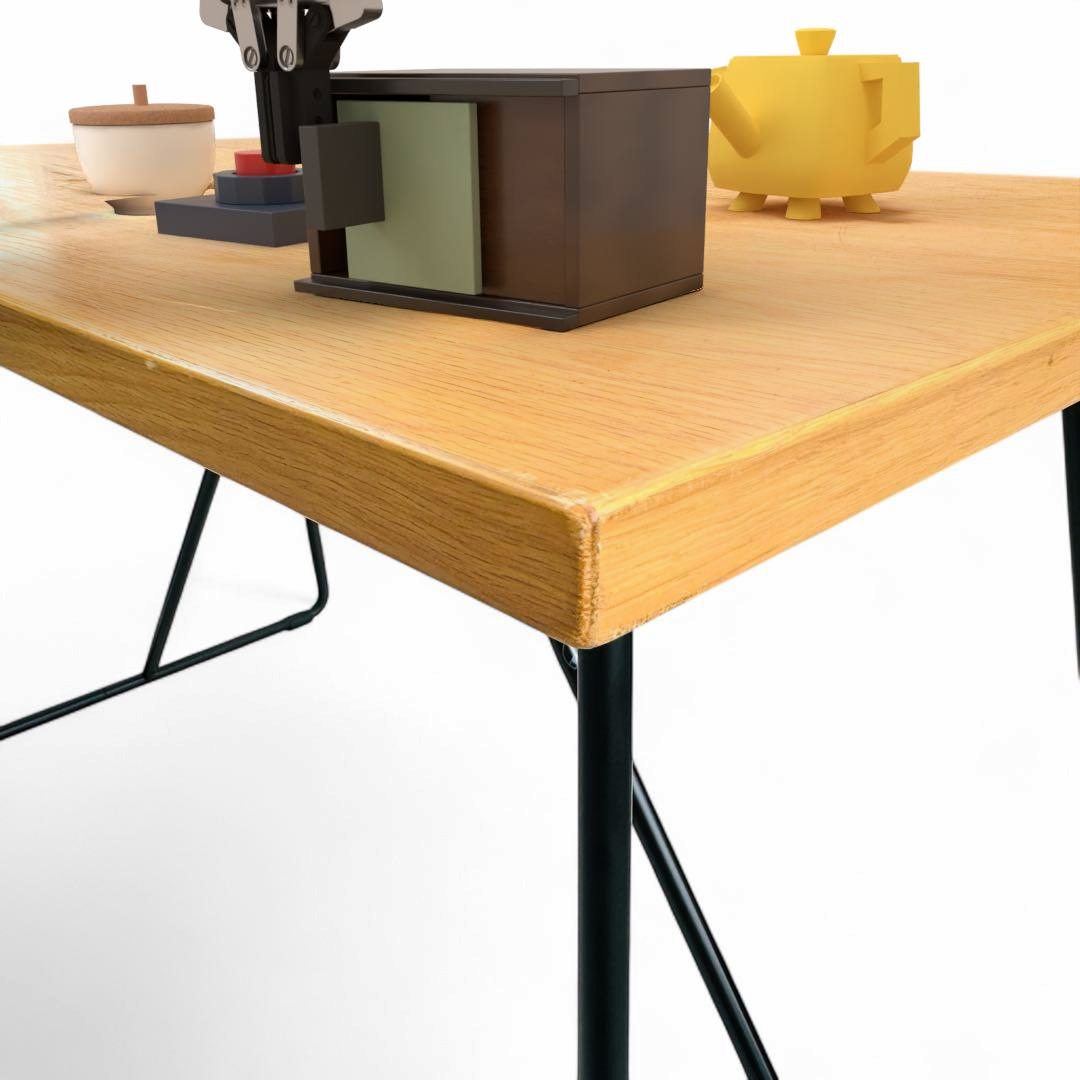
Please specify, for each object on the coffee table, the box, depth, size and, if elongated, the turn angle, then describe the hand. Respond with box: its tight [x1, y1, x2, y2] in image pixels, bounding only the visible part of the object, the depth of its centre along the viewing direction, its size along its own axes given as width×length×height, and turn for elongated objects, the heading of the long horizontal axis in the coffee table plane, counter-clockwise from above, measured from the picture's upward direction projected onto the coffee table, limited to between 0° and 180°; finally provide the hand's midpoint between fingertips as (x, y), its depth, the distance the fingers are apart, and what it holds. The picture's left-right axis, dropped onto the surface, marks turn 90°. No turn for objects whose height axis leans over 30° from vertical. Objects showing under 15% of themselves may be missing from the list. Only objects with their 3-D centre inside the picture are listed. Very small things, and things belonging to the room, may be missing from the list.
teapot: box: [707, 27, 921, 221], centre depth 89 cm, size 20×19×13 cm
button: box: [233, 149, 297, 175], centre depth 82 cm, size 4×4×2 cm
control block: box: [154, 167, 308, 249], centre depth 83 cm, size 12×10×4 cm
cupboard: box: [293, 67, 712, 332], centre depth 61 cm, size 12×17×11 cm
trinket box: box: [68, 84, 217, 217], centre depth 94 cm, size 11×11×9 cm
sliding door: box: [299, 100, 482, 295], centre depth 55 cm, size 5×8×8 cm, turn 53°
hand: (299, 161), depth 57 cm, fingers closed
